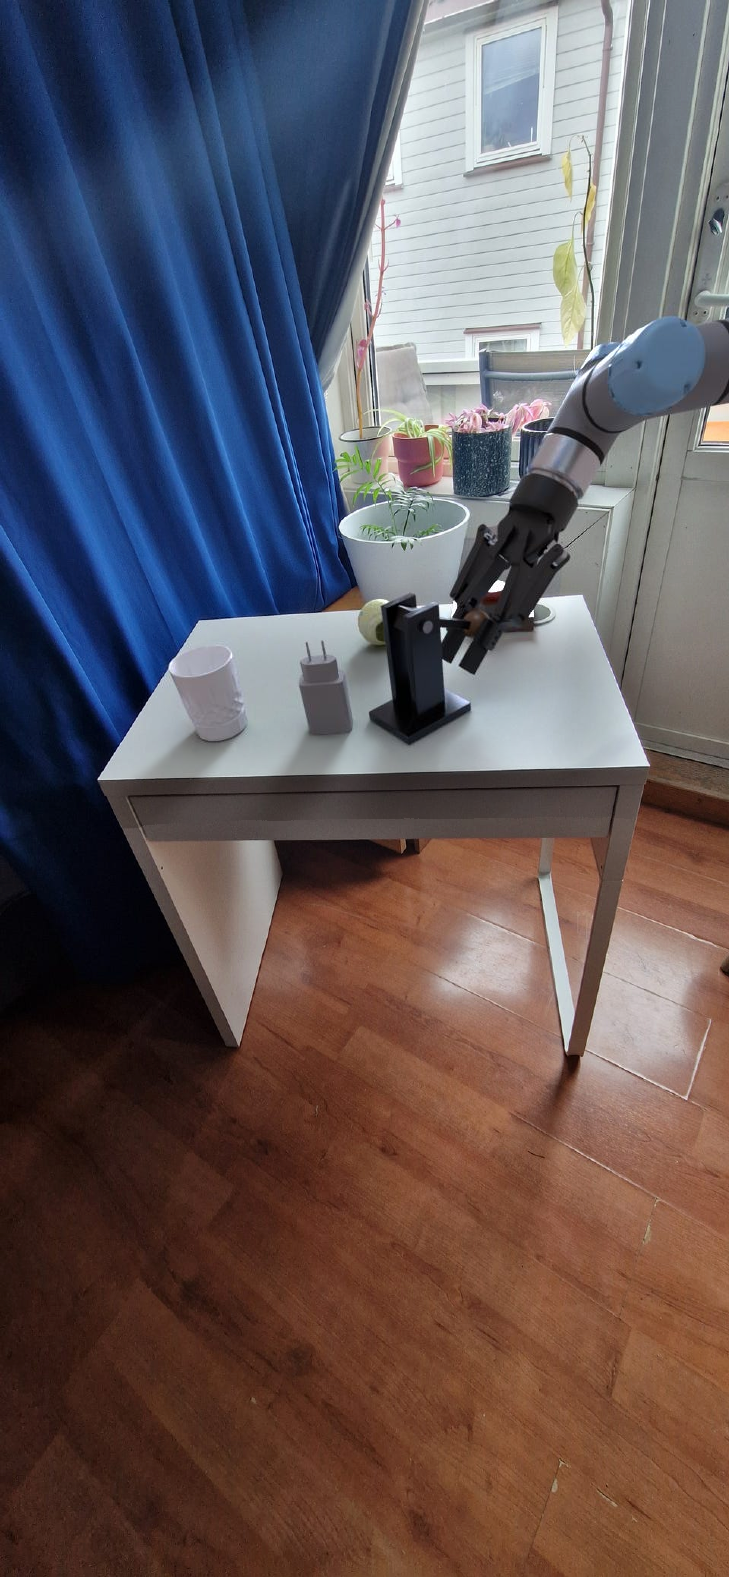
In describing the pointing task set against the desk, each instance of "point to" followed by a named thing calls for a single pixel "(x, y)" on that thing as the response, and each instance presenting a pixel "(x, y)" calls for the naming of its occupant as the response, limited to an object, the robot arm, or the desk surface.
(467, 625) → the lever
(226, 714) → the white cup
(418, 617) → the bracket
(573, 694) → the desk surface
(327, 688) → the power adapter
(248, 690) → the desk surface
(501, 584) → the button
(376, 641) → the tennis ball
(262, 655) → the desk surface
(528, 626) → the button block
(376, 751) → the desk surface
